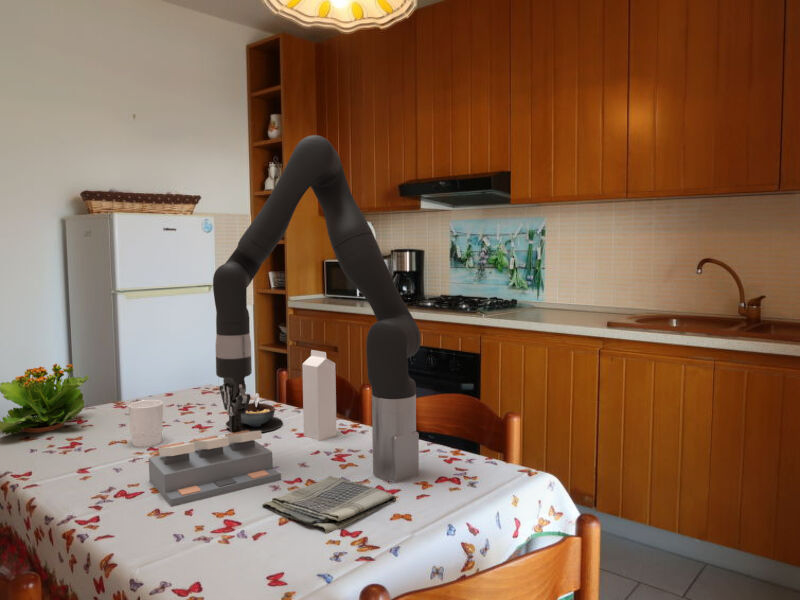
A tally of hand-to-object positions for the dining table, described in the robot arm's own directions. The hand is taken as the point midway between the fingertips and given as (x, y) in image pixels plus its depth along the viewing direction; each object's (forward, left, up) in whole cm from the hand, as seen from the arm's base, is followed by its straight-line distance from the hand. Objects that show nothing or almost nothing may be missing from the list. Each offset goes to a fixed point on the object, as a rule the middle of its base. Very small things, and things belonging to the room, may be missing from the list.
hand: (235, 431), depth 136 cm
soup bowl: (+26, -15, -8) cm, 31 cm away
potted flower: (+60, +31, -8) cm, 68 cm away
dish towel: (-32, -6, -8) cm, 33 cm away
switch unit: (-5, +7, -8) cm, 11 cm away
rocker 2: (-5, +7, 0) cm, 9 cm away
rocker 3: (-5, 0, 0) cm, 5 cm away
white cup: (+28, +12, -8) cm, 32 cm away
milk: (+7, -25, -8) cm, 27 cm away
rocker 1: (-5, +14, 0) cm, 15 cm away
